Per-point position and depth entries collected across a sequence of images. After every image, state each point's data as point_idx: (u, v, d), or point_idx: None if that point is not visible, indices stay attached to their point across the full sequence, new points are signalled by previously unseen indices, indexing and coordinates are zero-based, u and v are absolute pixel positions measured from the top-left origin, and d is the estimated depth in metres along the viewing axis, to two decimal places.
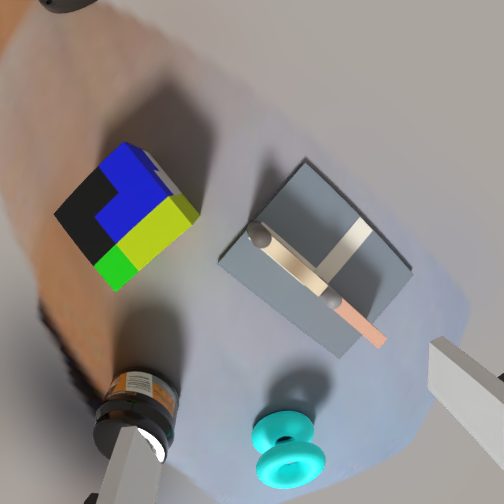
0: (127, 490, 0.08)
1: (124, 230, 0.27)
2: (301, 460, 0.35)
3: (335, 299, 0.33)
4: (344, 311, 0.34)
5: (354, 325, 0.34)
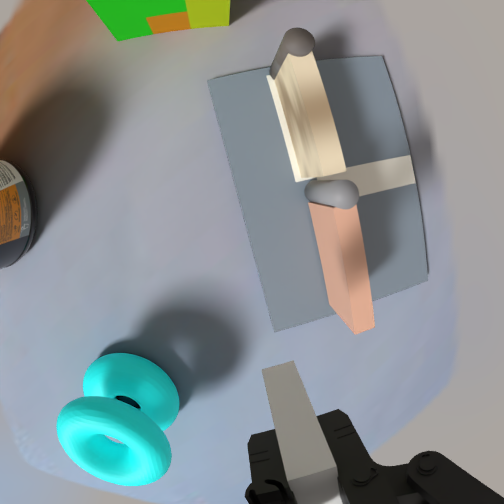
0: None
1: None
2: (130, 445, 0.19)
3: (348, 192, 0.18)
4: (347, 228, 0.19)
5: (347, 264, 0.20)
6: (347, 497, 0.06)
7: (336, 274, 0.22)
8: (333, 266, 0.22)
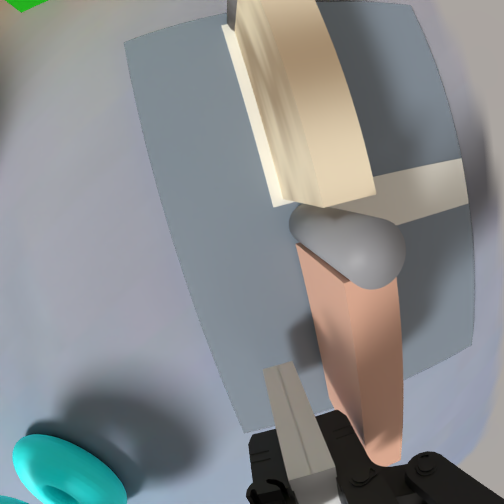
0: None
1: None
2: None
3: (383, 250, 0.07)
4: (372, 323, 0.08)
5: (365, 388, 0.09)
6: (346, 497, 0.06)
7: (343, 383, 0.11)
8: (338, 368, 0.12)
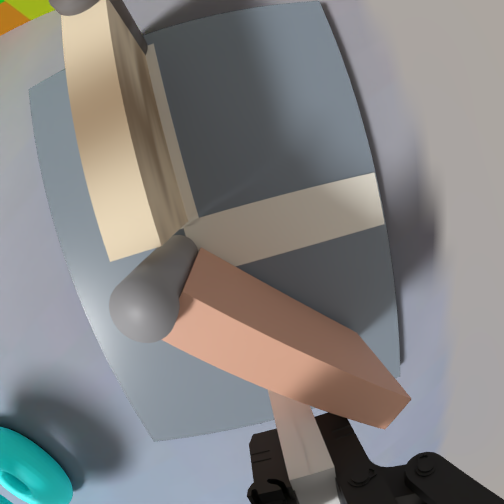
0: None
1: None
2: None
3: (143, 303, 0.07)
4: (215, 343, 0.09)
5: (276, 386, 0.09)
6: (345, 498, 0.06)
7: None
8: None
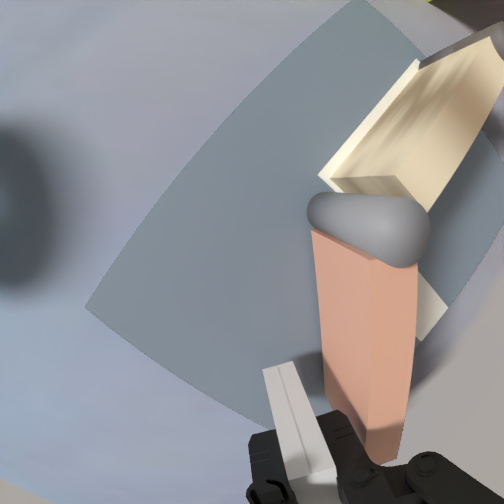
0: None
1: None
2: None
3: (411, 230, 0.07)
4: (391, 305, 0.08)
5: (376, 374, 0.09)
6: (346, 497, 0.06)
7: (348, 372, 0.11)
8: (344, 357, 0.11)
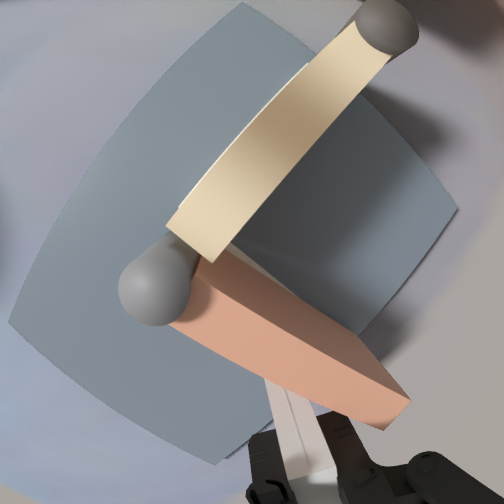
0: None
1: None
2: None
3: (155, 284, 0.07)
4: (223, 331, 0.08)
5: (281, 379, 0.09)
6: (346, 497, 0.06)
7: None
8: None
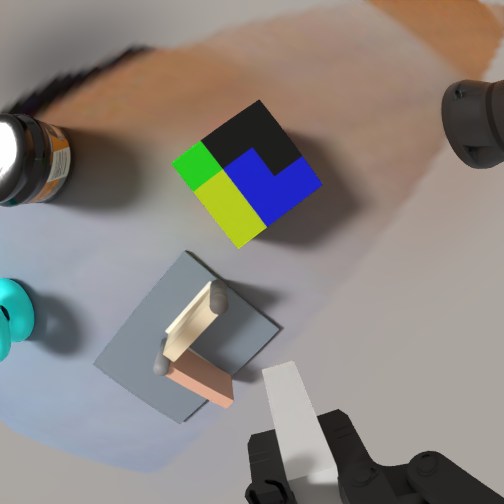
0: None
1: (235, 179, 0.28)
2: None
3: (161, 368, 0.33)
4: (176, 377, 0.34)
5: (191, 388, 0.35)
6: (347, 497, 0.06)
7: None
8: None
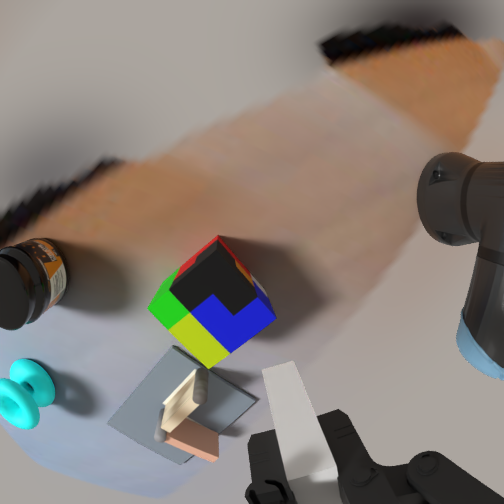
0: None
1: (201, 320, 0.33)
2: (25, 416, 0.35)
3: (160, 437, 0.39)
4: (172, 442, 0.40)
5: (184, 450, 0.40)
6: (347, 497, 0.06)
7: None
8: None
